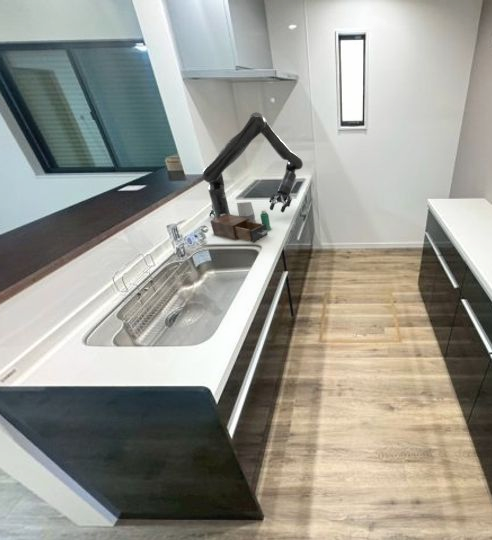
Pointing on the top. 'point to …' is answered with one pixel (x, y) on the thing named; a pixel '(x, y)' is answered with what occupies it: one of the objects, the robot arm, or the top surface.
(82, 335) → the top surface
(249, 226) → the drawer
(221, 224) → the cabinet
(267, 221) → the soap bottle
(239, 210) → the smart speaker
